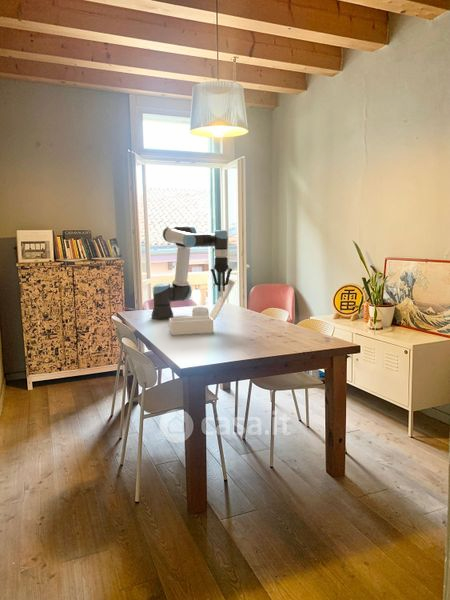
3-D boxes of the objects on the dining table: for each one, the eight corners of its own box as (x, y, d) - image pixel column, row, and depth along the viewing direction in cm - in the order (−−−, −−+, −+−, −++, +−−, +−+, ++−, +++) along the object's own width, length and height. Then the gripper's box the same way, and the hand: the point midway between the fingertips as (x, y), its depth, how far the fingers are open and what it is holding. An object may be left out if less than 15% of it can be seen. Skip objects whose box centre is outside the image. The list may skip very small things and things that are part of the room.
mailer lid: (226, 278, 269) (229, 280, 269) (207, 314, 269) (209, 316, 270) (232, 280, 256) (235, 282, 257) (211, 318, 256) (214, 320, 257)
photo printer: (209, 325, 280) (208, 306, 278) (208, 327, 276) (208, 307, 274) (193, 325, 281) (192, 306, 279) (192, 327, 277) (191, 307, 275)
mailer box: (169, 331, 265) (169, 318, 264) (208, 328, 270) (208, 315, 269) (172, 335, 252) (171, 322, 251) (213, 333, 258) (213, 319, 257)
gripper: (211, 257, 254) (212, 298, 258) (233, 257, 257) (233, 297, 261) (209, 256, 261) (209, 296, 265) (230, 256, 264) (230, 295, 268)
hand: (221, 296), depth 263 cm, fingers closed
